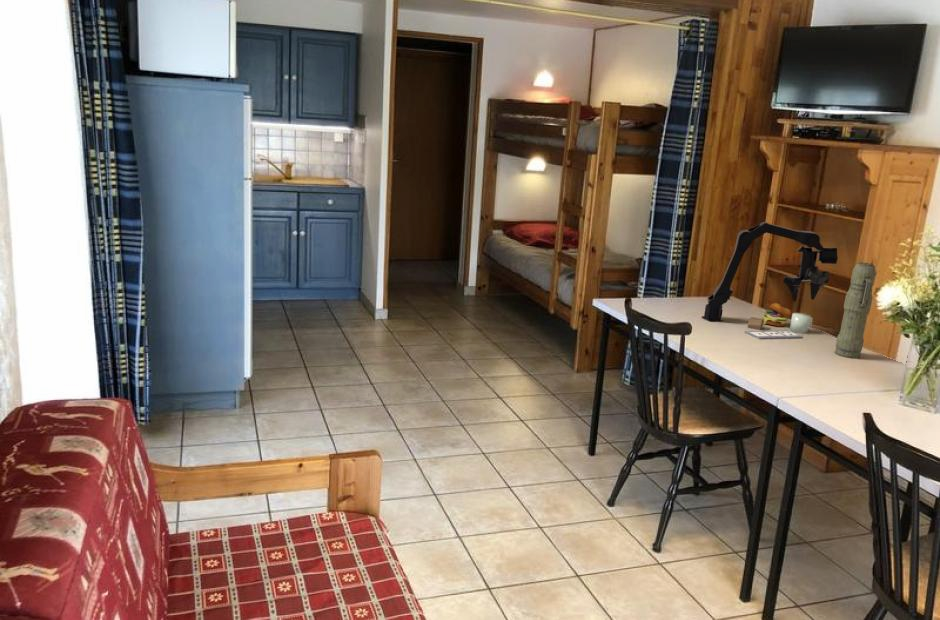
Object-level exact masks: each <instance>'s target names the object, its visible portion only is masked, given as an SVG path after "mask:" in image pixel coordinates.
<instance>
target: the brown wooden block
mask: <svg viewBox="0 0 940 620" xmlns="http://www.w3.org/2000/svg"><path fill="white" fill-rule="evenodd" d="M763 323H764V319H763V318H761V317H756V316H751V317H749V318H748V323H747V329H752V330H755V331H762V329H763V327H764V324H763Z"/></svg>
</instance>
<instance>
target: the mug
mask: <svg viewBox="0 0 940 620" xmlns="http://www.w3.org/2000/svg"><path fill="white" fill-rule="evenodd" d="M813 319H814V317H811V315H810V314H807V313H802V312H793V313H791V319H790V324H789V325H790V326H789V330H788V331H790V332H793V333H795V334H799V335H801V334H802V335H803V334H809V333H808V332H809V328H812V325H813Z"/></svg>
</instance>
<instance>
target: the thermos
mask: <svg viewBox="0 0 940 620" xmlns="http://www.w3.org/2000/svg"><path fill="white" fill-rule="evenodd" d="M876 275H877V273H876V266H875V265H874V264H873V263H868V262H862V261H861V262H859V263H856V264H855V266H854V268H853V269H852V274H851V277H850V282H849V283H850V286H849V289H848V291H847V292H846V293H845V297H844V298H845V299H844V302H843V303H844V304H843V310H844V311H843V316H842V321H841V326H840V330H839V333H838V334H837V337H836V341H835V342H836V343H835V351H834V354H836V355H837V356H839V357H843V358H847V359H860V357H861V352H862V351H863V346H864V341H865V338H864V333H865V327H866V324H867V319H868V315H869V313H870V312H871V307H872V301H873V287H874V283H875V278H876Z"/></svg>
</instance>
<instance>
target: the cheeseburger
mask: <svg viewBox="0 0 940 620" xmlns="http://www.w3.org/2000/svg"><path fill="white" fill-rule="evenodd" d="M768 307H769V310H765V312H764V313H763V315H762V319H764V323H763V325H766V324H767V325H770V326H775V327H784V326H785V325H786V323H787V322H788V321H789V319H790V318H791V317H792V311H791V310H790V309H789V308H787V307H783V306H782V305H781V304H780V303H777V302H774V303H772V304H770V305H769V306H768ZM770 309H771V310H770Z"/></svg>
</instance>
